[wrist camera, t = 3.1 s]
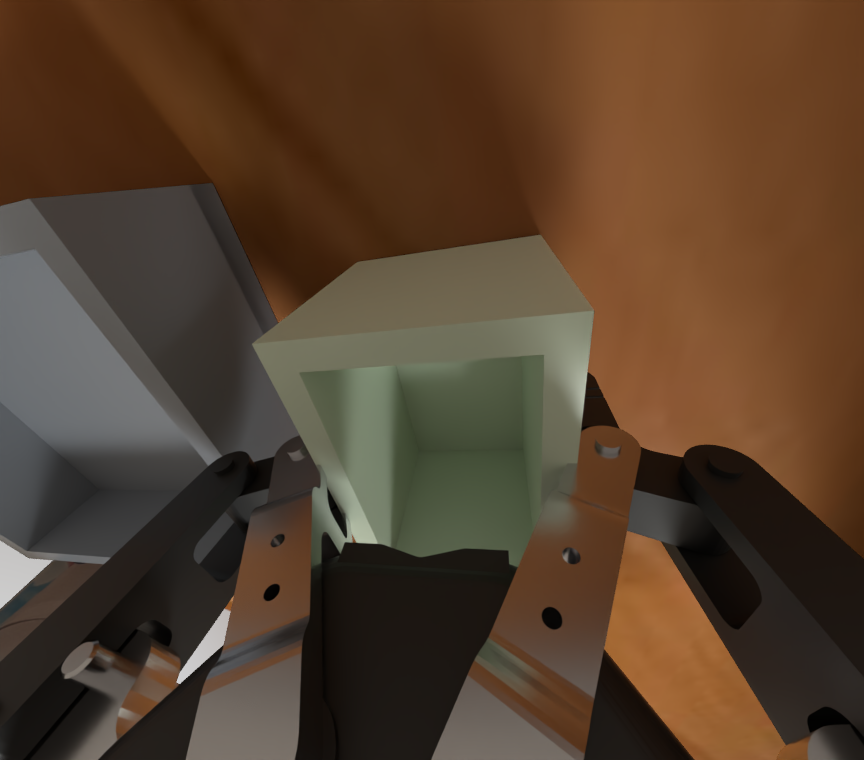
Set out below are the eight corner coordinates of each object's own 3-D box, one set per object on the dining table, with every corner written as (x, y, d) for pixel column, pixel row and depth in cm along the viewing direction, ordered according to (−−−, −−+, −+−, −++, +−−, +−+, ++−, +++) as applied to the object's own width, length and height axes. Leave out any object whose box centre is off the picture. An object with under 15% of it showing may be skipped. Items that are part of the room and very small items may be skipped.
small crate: (540, 234, 10) (593, 310, 5) (537, 447, 15) (563, 592, 10) (357, 262, 11) (252, 344, 6) (410, 449, 16) (375, 578, 11)
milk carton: (114, 504, 24) (-1026, 1553, 6) (199, 524, 24) (-710, 1672, 6) (146, 548, 28) (-485, 1266, 10) (220, 566, 27) (-285, 1332, 10)
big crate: (212, 183, 10) (28, 198, 6) (354, 487, 18) (315, 581, 14) (-127, 262, 14) (-379, 304, 10) (113, 484, 22) (28, 558, 18)
